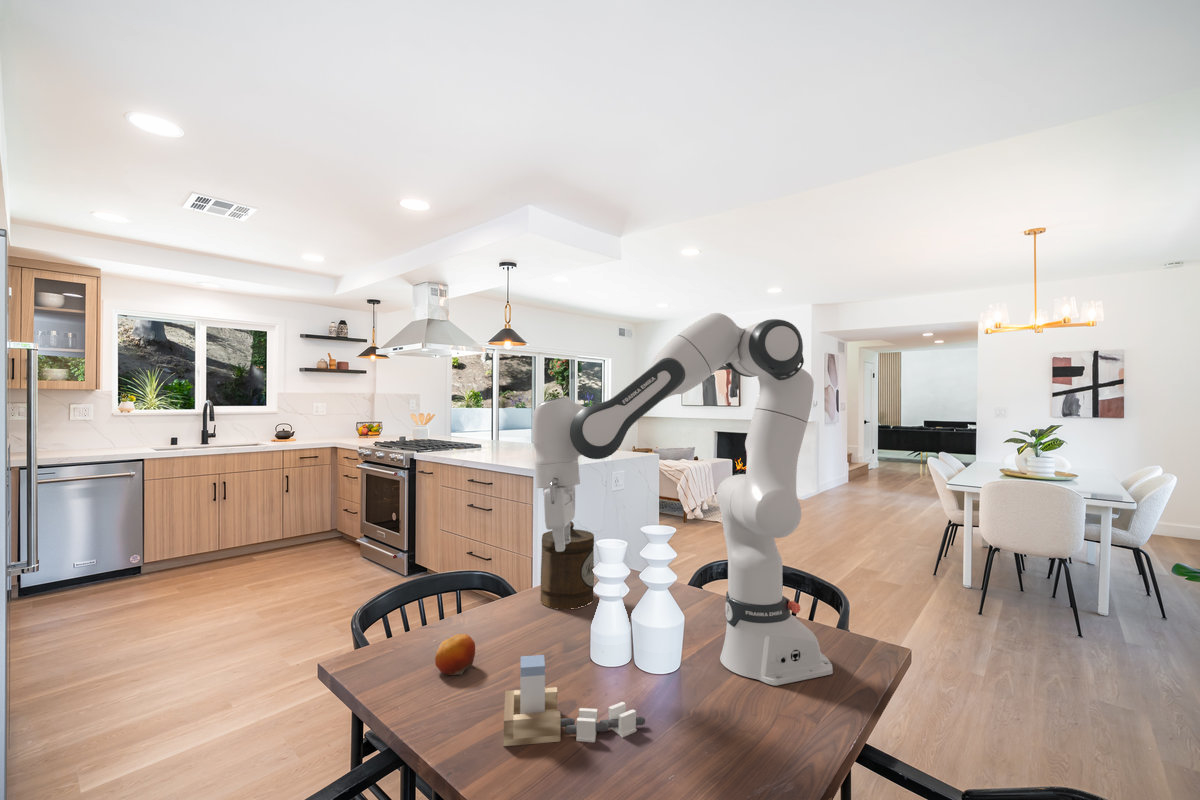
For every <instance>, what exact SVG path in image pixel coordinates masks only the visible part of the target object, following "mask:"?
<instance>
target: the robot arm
mask: <svg viewBox="0 0 1200 800" xmlns="http://www.w3.org/2000/svg"><path fill="white" fill-rule="evenodd" d="M803 344H804V343H803V338H802V334H801V332H800V331H799V329H798V328H797V326H795V324H793V323H791V322H789V321H787V320H784V319H777V318H776V319H775V318H773V319H771V318H770V319H766V320H763V321H761V322H757V323H754V324H752V325H750V326H748V327H745V328H741V327H739V325H737V324H736V323H735V321H734V320H732V319H731V318H730V317H729V316H728V315H726V314H723V313H720V312H714V313H710V314H708V315H706V316H704V317H702V318H701V319H699V320H697V321H695V322H694V323H692V324H691V325H689V326H687V327H686V328H685V329H683V330H682V331H680V332H679V333H678V334H677V335H676V336H674V337H673V338H672V339H671V340H669V341H668V343H666V344H665V346H664V347H663V348H661V350H660V351H659V352H658V353H657V355H655V357H654V358H653V359H652V361H651V362H650V364H649V366H648V367H647V368H646V370H645V371H644V372H643V373H642V374H641V375H640V376H638V378H636V379H635V380H633V381H632V382H631V383H630V384H629V385H627V386H626V387H624V388H623V389H622V390H621V391H619V392H617V394H616V395H614V396H613V397H612V398H610V399H608V400H606V401H603V402H598V403H594V404H592V405H588V406H583V405H581V404H578V403H576V402H574V401H573V400H571V399H570V398H568V397H565V396H563V397H555V398H551V399H548V400H544V401H542V402H540V403H539V404H538V405H537V406H536V408H534V410H533V416H532V440H533V442H532V443H533V446H534V449H535V463H534V466H535V481H536V488H537V489H543V490H542V491H543V503H544V504H543V506H544V523H545V528H546V530H548V531H552V533H553V538H554V542H555V550H556V551H557V552H561V551H564V550H565V544H569V543H570V521H571V522H572V520H574V519H575V515H576V485H580V484H581V478H580V468H579V457H580V456H583V457H584V458H588V459H591V460H600V459H601V460H603V459H606V458H608V457H611V456H612V455H613V454H614V453H616V452H617V450H618V449H619V448H620V447H621V445H622V443H623V441H624V439H625V437H626V435H627V433H628V431H629V430H630V428H631V427H632V426H633V425H634V424H635V423H636V422H637V421H639V420H640V419H641V418H643V416H645V415H646V414H647V413H648V412H649V411H651V410H652V409H653V408H654V407H655V406H657V405H658V404H659V403H660V402H662V401H663V400H665V399H667V398H669V397H672V396H674V395H682V394H686V392H689V391H690V390H692V389H694V388H696V387H697V386H699V385H700V384H701V383H703V382H705V381H706V380H707V379H709V378H710V377H711V376H712V375H713V374H715V372H717V371H718V370H719V369H720V368H722V367H723V366H726V367H727V368H729V369H730V370H731V371H732V372H734V373H735V374H738V375H739V376H742V377H747V378H752V377H753V378H754V377H757V380H758V383H759V396H758V398H757V402H756V405H755V408H754V410H753V411H754V412H753V414H752V417H751V422H750V425H749V426H748V427H749V428H748V432H747V434H746V438H745V442H744V447H745V452H746V469H745V473H742V474H740V473H739V474H735V475H730V476H727V477H726V478H724V479H723V480H722V481H721V482H720V484H719V485H718V487H717V489H716V501H717V504H718V507H719V510H720V515H721V522H722V529H723V535H724V540H725V546H726V551H727V552H726V553H727V591H726V594H725V605H724V606H725V619H726V627H725V629H726V630H725V637H724V642H723V646H722V650H721V653H720V656H719V660H720V662H721V664H722V665H723V666H724V667H725V668H726V669H728V670H729V671H730V672H732V673H734V674H737V675H739V676H742V677H745V678H748V679H749V678H750V679H755V680H758V681H760V682H762V683H765V684H767V685H770V686H781V685H785V684H790V683H795V682H800V681H806V680H811V679H815V678H819V677H825V676H830V675H833V673H834V667H833V664H832V662H831V661H830V659H828V657H826V655H825V654H824V653H822V652H821V649H820V648H821V647H820V644H819V641H818V638H817V637H816V635H815V634H814V633H813V631H812V630H811V629H809V628H808V627H807V626H806V625H805V624H803V622H801V621H800V620H799V619H797V618H796V617H795V616H794V615H792V613H794V614H799V613H800V612H801V609H802V608H801V605H800V604H799V603H797V602H796V601H795V600H790V599H789V598H788V597H786V596H785V595H783V560H782V555H781V554H780V552H779V549H778V546H777V544H776V540H775V539H781V538H785V537H788V536H789V535H791V534H792V533H793V532H795V531H796V530H797V529H798V527H799V525H800V522H801V519H802V508H801V504H800V502H799V500H798V493H797V472H798V471H797V470H798V468H797V467H798V461H799V455H800V451H801V447H802V444H803V440H804V436H805V432H806V428H807V426H808V422H809V419H810V414H811V410H812V406H813V405H812V403H813V397H814V384H815V382H814V379H813V376H812V375H811V374H810V373H809V372H808V371H807V370H805V369H803V366H804V363H805V360H804V355H803V353H804V352H803V351H804V350H803V349H804V345H803ZM791 612H792V613H791Z"/></svg>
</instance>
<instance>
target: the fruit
mask: <svg viewBox="0 0 1200 800" xmlns="http://www.w3.org/2000/svg"><path fill="white" fill-rule="evenodd" d="M434 656H435V658H434V663H435V666H436V668H437V669H438V670H439V671H440V673H442V674H444V675H446V676H447V675H448V676H454V675H461V676H463V673H464V672H465V670H467V668H474V669H476V667H475V666H474V665H473V663H474V661H475V660H474V659H475V656H476V643H475V640H474V639H473V638H472V637H471V636H470V635H468V634H467V633H463V634H462V633H458V634H456V635H452V637H448V638H447V639H444V640H443V641H442V642H440V644H439V647H438V648H437V650H436V654H435V655H434Z"/></svg>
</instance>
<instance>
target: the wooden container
mask: <svg viewBox="0 0 1200 800" xmlns="http://www.w3.org/2000/svg"><path fill="white" fill-rule="evenodd" d="M574 527H575V524H574V522H573V521H572V520H571V521H570V543H569V544H565V550H564V551H561V552H557V551H556V550H555V542H554V538H553V533H552V530H548V531H546V532H544V533H542V536H541V555H540V556H541V557H540V558H541V560H540V561H541V562H540V602H542V603H541V604H542V605H543V604H544V605H543V606H545V605H546V606H545V607H547V606H548V607H547V608H550V607H552V608H551V609H554V608H558V609H557V610H561V609H571V608H578V607H581V606H585V605H587V604H588V603H590V602H592V601H593V602H594V593H593V587H595V572H594V573H593V571H592V569H593V568H594V567H595V563H594V562H595V559H594V558H595V556H594V554H595V552H594V545H595V534H594V533H593V532H590V531H588V530H583V529H576V528H574ZM594 569H595V568H594ZM593 602H592V603H593ZM571 610H572V609H571Z"/></svg>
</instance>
